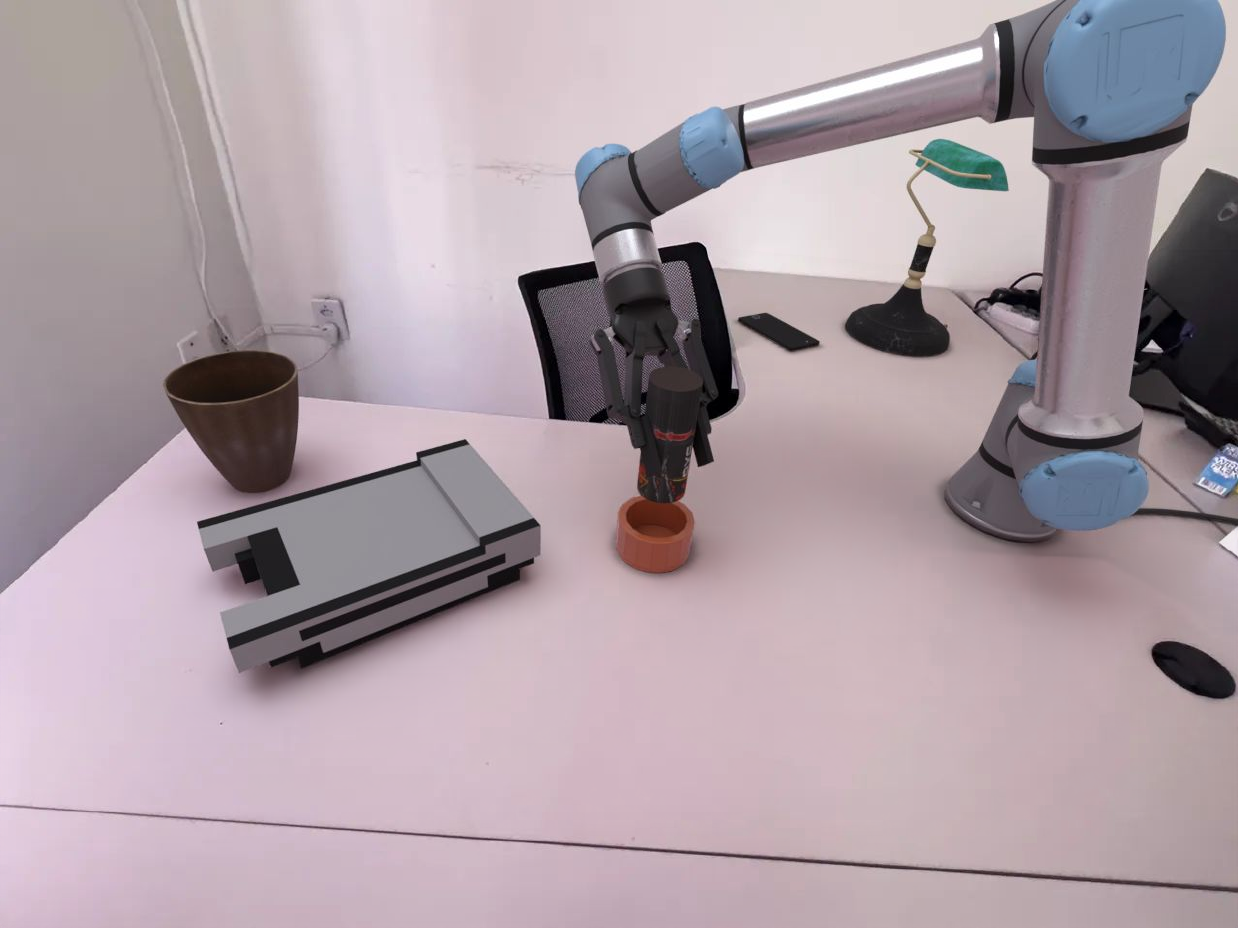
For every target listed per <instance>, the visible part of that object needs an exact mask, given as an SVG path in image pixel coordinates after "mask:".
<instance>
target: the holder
mask: <svg viewBox="0 0 1238 928" xmlns="http://www.w3.org/2000/svg"><path fill="white" fill-rule="evenodd" d="M619 508H620V509H619V510H618V512H617V519H616V531H615V549H616V552H617V554H618V556H619V558H621V560H622V561H623V562H624V563H625V564H627V565H628V566H630V567H632V568H634V569H636V570H637V571H641V572H645V573H650V574H651V573H652V574H653V573H654V574H662V573H668V572H672V571H674V570H677V569H679V568H680V567H682V566H683V565H684V564H685V563H686V561H687V560H688V559H689V555H690V551H691V548H692V542H693V538H694V537H693V536H694V532H695V525H696V520H695V518H694V514H693V511H691V509H689V507H688V506H687V505H686V504H685V503H683V502H682V501H680V500H678V501H676V502H673V503H656V502H652V501H650V500H648V499H645V498H644V497H643V496H641V495H637V496H632V497H631V498H629V499H628V500H626V501H625V502H623V503H622V504H621V507H619Z"/></svg>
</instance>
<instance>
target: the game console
mask: <svg viewBox="0 0 1238 928" xmlns="http://www.w3.org/2000/svg"><path fill="white" fill-rule="evenodd" d="M415 454H416V460H413V461H410V462H406V463H402V464H398V465H395V466H391V467H388V468H384V469H381V470H378V471H374V472H370V473H365V474H363V475H359V476H355V477H352V478H349V479H344V480H340V481H338V482H333V483H330V484H327V485H324V486H323V485H322V486H319V487H316V488H312V489H309V490H305V491H301V492H298V493H294V494H291V495H288V496H284V497H281V498H277V499H273V500H269V501H266V502H263V503H260V504H255V505H252V506H248V507H244V508H241V509H237V510H233V511H230V512H227V513H223V514H219V515H216V516H213V517H212V516H211V517H209V518H205V519H201V520H199V521H196V524H197V528H198V533H199V536H200V540H201V545H202V548H203V551H204V553H205V556H206V559H207V561H208V564H209V566H210V568H211V572H216V571H219V570H223V569H226V568H229V567H232V566H235V565H237V566H238V569H239V572H240V574H241V577H242V579H243V583H244V585H248V584H251V583H254V582H257V581H260V580H261V581H262V584H263V588H264V591H265V594H266V596H263V597H261V598H257V599H255V600H252V601H249V602H247V603H243V604H240V605H237V606H235V607H234V606H233V607H231V608H229V609H226V610H223V611H220V612H219V614H220V617H221V618H220V619H221V623H222V626H223V630H224V634H225V637H226V641H227V646H228V649H229V652H230V654H231V658H232V659H233V662H234V664H235V667H236V669H237V672H238V674H242V673H243V672H246V671H247V670H248V671H249V670H251V669H253V668H255V667H259V666H261V665H264V664H266V663H268V664H269V666H270V669H271V668H274V667H276V666H279V665H281V664H284V663H287V662H289V661H291V660H295V659H296V658H297V660H298V663H299V665H300V668H301V669H304V668H307V667H309V666H312V665H314V664H316V663H319V662H321V661H323V660H326V659H329V658H331V657H334V656H337V655H339V654H341V653H344V652H347V651H348V650H351V649H353V648H356V647H358V646H361V645H363V644H366V643H368V642H370V641H372V640H373V641H374V640H375V639H378V638H380V637H382V636H385V635H388V634H390V633H393V632H395V631H398V630H400V629H403V628H405V627H407V626H410V625H412V624H415V623H417V622H420V621H422V620H425V619H427V618H430V617H432V616H435V615H437V614H439V613H441V612H444V611H446V610H450V609H452V608H454V607H456V606H459V605H463V604H465V603H466V602H469V601H471V600H475V599H476V598H479V597H481V596H483V595H487V594H489V593H491V592H493V591H497V590H499V589H501V588H503V587H506V586H508V585H510V584H513V583H516V582H518V581H520V580H521V569H524V568H526V567H528V566H530V565H533V564H535V558H536V557H539V556H541V555H542V554H541V551H542V550H541V549H542V548H541V547H542V546H541V543H542V542H541V539H542V538H541V532H542V529H541V528H542V527H541V526H542V525H541V524H540V523H539V522H538V520H537V519H536V518H535V517H534V516H533V515H532V514H531V512H530V511H529V510H528V509H527V508H526V506H524V505H523V503H522V502H521V501H520V500H519V499H518V497H517V496H516V495H515V494H514V493H513V492H512V491H511V489H510V488H509V487H508V486H507V485H506V484H505V482H504V481H503V480H502V479H501V478H500V477H499V476H498V474H496V472H495V471H494V470H493V469H492V468H491V466H490V465H489V464H488V463H487V462H486V461H485V459H484V458H483V457H482V456H481V455H480V454H479V452H478V451H476V449H475V448H474V447H473V446H472V445H471V443H470V442H469V441H468V440H467V439H466V438H464V439H460V440H456V441H453V442H449V443H445V444H441V445H438V446H435V447H431V448H428V449H424V450H420V451H416V452H415Z"/></svg>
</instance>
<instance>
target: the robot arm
mask: <svg viewBox="0 0 1238 928" xmlns="http://www.w3.org/2000/svg"><path fill="white" fill-rule="evenodd" d="M1226 39H1227V25H1226V17H1225V13H1224V11H1223V8H1222V6H1221V3H1220V2H1219V0H1054V1H1051V2H1049V3H1046V4H1045V5H1042V6H1039V7H1037V8H1035V9H1031V10H1030V11H1027V12H1025V13H1022V14H1019V15H1017V16H1012V17H1010V18H1007V19H1004V20H1000V21H996V22H992V23H990V24H989V25H987V27H986V28H985V30H984V31H983V32H982V34H980V36H979V37H977V38H975V39H972V40H967V41H965V42H961V43H960V42H959V43H957V44H954V45H950V46H946V47H943V48H939V49H936V50H932V51H928V52H925V53H921V54H917V55H914V56H911V57H908V58H903V59H900V60H896V61H892V62H888V63H885V64H882V65H877V66H875V67H870V68H867V69H863V70H860V71H855V72H853V73H849V74H846V75H842V76H838V77H833V78H830V79H827V80H824V81H820V82H816V83H813V84H809V85H805V86H802V87H798V88H795V89H791V90H788V91H783V92H780V93H776V94H773V95H769V96H766V97H763V98H759V99H755V100H751V101H748V102H745V103H743V104H742V103H741V104H737V105H734V106H729V107H726V108H721V107H719V106H710V107H708V108H707V109H705V110H703V111H701V112H700V113H699V112H698V113H695V114H693V115H692V116H689V117H688V118H686V119H685V120H684V121H683V122H681V123H680V124H678V125H676V126H675V127H673V128H671V129H670V130H668V131H666V132H664V133H663V134H662V135H659V137H657V138H655V139H654V140H652V141H651V142H649V143H647V144H646V145H644V146H642V147H641V148H639V149H638V150H634V151H633V152H632V151H631V150H630V148H629V147H627V146H626V145H623V144H620V143H605V144H604V145H603V146H601V147H598V146H594V147H593V148H591V149H589V150H587V151H586V152H585V153H584V154H583V155H581V157H580V158H579V160H578V161H577V163H576V165H575V169H574V179H575V184H576V190H577V194H578V195H577V198H578V204H579V206H580V209H581V211H582V216H583V219H584V222H585V226H586V229H587V233H588V237H589V240H590V246H591V250H592V255H593V259H594V263H595V267H596V271H597V275H598V279H599V282H600V284H601V286H602V287H603V288H602V296H603V300H604V303H605V307H606V311H607V315H608V317H609V326H608V328H605V329H602V328H598V329H597V330H596V331H595V332H594V333H593V334H592V336H591V337H590V338H589V340H588V343H589V345H590V348H591V349H592V350H593V353H594V355H595V356H596V359H597V365H598V370H599V377H600V382H601V386H602V387H601V388H602V392H603V398H604V403H605V409H606V414H607V418H609V420H620V421H621V422H622V423H623V424H625V425H626V427H627V431H628V436H629V439H630V443H631V447H632V448H633V449H634V450H637V449H639V451H640V454H641V455H642V459H643V463H644V467H645V471H646V475H647V478H648V477H652V476H655V475H657V474H659V473H662V468H661V464H660V460H659V456H658V452H657V448H656V444H655V440H654V436H653V432H652V428H651V424H650V420H649V416H645V415H642V416H641V413H642V395H643V393H642V392H643V369H644V359H645V357H647V356H651V357H656V358H657V359H658V361H659V363H661V364H663V367H668V366H674V367H681V368H686V369H689V370H692V371H694V372H696V373H697V374H699V375H700V376H701V378H702V379H703V386H702V392H701V398H700V404H699V411H698V417H697V423H696V429H695V435H694V441H693V447H692V451H693V453H694V458H695V461H696V465H697V468H701V467H705V466H707V465H709V464H711V463H714V462H715V458H714V455H713V452H712V448H711V444H710V440H709V436H708V435H710V434H712V424H711V421H710V417H709V413H708V409H707V406H708V404H709V403H711V402H712V401H714V400H715V399H716V398H719V390H718V387H717V385H716V381H715V379H714V375H713V371H712V369H711V366H710V363H709V360H708V357H707V353H706V350H705V347H704V345H703V341H702V337H701V322H700V320H699V319H697V318H693V319H691V321H687V320H682V319H679V318H678V316H677V314H675V312H674V311H673V308H672V304H671V303H672V302H671V295H670V291H669V287H668V284H667V280H666V275H665V273H664V272H663V271H662V268H663V264H662V260H661V257H660V252H659V250H658V246H657V242H656V238H655V233H654V230H653V226H652V220H655V219H656V218H658V217H661V216H663V215H664V214H666V213H667V212H669V211H671V210H673V209H675V208H677V207H679V206H681V205H683V204H686V203H687V202H689V201H692V200H693V199H695V198H698V197H699V196H701V195H703V194H705V193H707V192H709V191H711V190H713V189H714V190H716V189H719V188H720V187H721V186H722V185H723V184H725V183H727V181H730V180H731V179H733V178H734V177H736V176H737V175H739V174H740V173H743V172H747V171H750V170H754V169H759V168H763V167H767V166H771V165H775V164H779V163H784V162H788V161H793V160H797V159H801V158H806V157H809V156H813V155H814V156H815V155H818V154H823V153H827V152H831V151H836V150H840V149H845V148H849V147H854V146H857V145H862V144H867V143H871V142H874V141H879V140H883V139H888V138H893V137H896V136H902V135H905V134H909V133H913V132H919V131H924V130H926V129H931V128H935V127H940V126H945V125H948V124H953V123H957V122H963V121H966V120H971V119H975V118H980V119H981V120H983V121H984V122H986V123H987V124H989V125H992V124H996V123H1000V122H1005V121H1009V120H1015V119H1024V118H1033V131H1032V152H1031V155H1032V156H1031V165H1032V166H1033V167H1034V168H1036V169H1037V170H1038V171H1039V172H1041V173H1043V175H1045V176H1046V177H1047V180H1048V189H1047V203H1046V218H1045V219H1046V220H1045V233H1044V234H1045V235H1044V248H1043V249H1044V250H1043V263H1042V276H1041V277H1042V278H1041V293H1040V307H1039V308H1040V309H1039V324H1038V338H1037V355H1036V359H1028V360H1025V361H1022V362H1021V363H1020V364H1018V366H1017V367H1016V368H1015V370H1014V372H1013V374H1012V375H1011V378H1009V379H1008V380H1007V383H1008V384H1007V385H1006V387H1005V390H1004V392H1003V395H1002V396H1001V399H1000V401H999V403H998V405H997V408H996V410H995V412H994V414H993V417H992V419H991V421H990V423H989V425H988V427H987V430H986V431H985V434H984V436H983V439H982V441H981V443H980V445H979V447H978V449H977V451H976V452H975V453H974V454H973V455H972V456H971V457H970V458H969V459H968V460H967V461H966V462H965V463H964V464H963V465H962V466H961V467H960V468H958V470H957V471H956V472H955V473H954V474H953V475H952V476H951V478H950V479H949V481H948V483H947V485H946V487H945V491H944V498H945V500H946V502H947V504H948V506H949V507H950V509H951V510H952V511H953V512H954V513H955V514H956V515H957V516H958V517H959V518H961V519H962V520H963V521H965V522H966V523H968V524H969V525H971V526H972V527H974V528H976V529H979V530H980V531H982V532H984V533H986V534H989V535H992V536H995V537H997V538H1000V539H1004V540H1008V541H1013V542H1019V543H1037V542H1043V541H1046V540H1049V539H1051V537H1053V536H1054V535H1055V533H1056V531H1057V530H1061V531H1062V530H1063V531H1070V532H1088V531H1089V532H1090V531H1096V530H1100V529H1101V530H1102V529H1105V528H1108V527H1111V526H1114V525H1116V524H1117V523H1118V522H1119V521H1121V520H1126V519H1128V518H1130V517H1131V516H1133V515H1134V514H1161V515H1162V514H1163V515H1175V516H1185V517H1194V518H1202V519H1208V520H1215V521H1219V522H1226V523H1231V524H1236V525H1237V524H1238V518H1234V517H1230V516H1223V515H1219V514H1211V513H1205V512H1197V511H1189V510H1181V509H1180V510H1179V509H1171V508H1170V509H1169V508H1149V507H1146V508H1145V507H1144V508H1142V506H1143V505H1144V503H1145V502H1146V499H1147V497H1148V494H1149V491H1150V483H1149V479H1148V471H1147V469H1146V467H1145V466H1144V465H1143V464H1142V463H1141V462H1140V461H1139V449H1140V444H1141V437H1142V431H1143V422H1144V416H1145V413H1144V412H1145V411H1144V408H1143V407H1142V406H1141V404H1139V403H1138V402H1137V401H1136V400H1135V399H1134V398H1132V397H1131V396H1130V389H1131V383H1132V382H1131V381H1132V375H1133V368H1134V362H1135V354H1136V349H1137V341H1138V334H1139V327H1140V326H1139V325H1140V319H1141V312H1142V305H1143V298H1144V292H1145V285H1146V278H1147V270H1148V264H1149V263H1148V262H1149V257H1150V249H1151V241H1152V235H1153V229H1154V221H1155V214H1156V206H1157V199H1158V193H1159V185H1160V179H1161V173H1162V165H1163V163H1164V162H1165V160H1167V159H1168V158H1169V157H1170V156H1172V154H1173V153H1175V152H1176V151H1177V150H1178V149H1179V148H1180V147H1182V145H1184V144H1185V143H1186V142H1187V140H1188V136H1189V129H1190V123H1191V122H1190V121H1191V117H1192V111H1193V105H1194V103H1195V102H1196V101H1197V100H1198V99H1199V97H1201V96H1202V95H1203V94H1204V92H1205V91H1206V90H1207V88H1208V87H1209V85H1210V84H1211V82H1212V80H1213V78H1214V77H1215V75H1216V73H1217V71H1218V68H1219V67H1220V64H1221V61H1222V58H1223V55H1224V52H1225V46H1226V42H1227V41H1226ZM676 332H677V334H678V339H679V340H680V341H682V347H683V348H682V349H683V351H684V355H685V357H686V360H687V363H686V361H685V359H684V358H683V356H682V354H681V348H680V346H679V344H678V343H677V340H676V339H675V334H676ZM615 341H616V343H618V344H619V345H620V346H621V348H623V349H624V361H623V362H624V363H623V364H624V366H625V368H624V369H625V370H624V389H623V390H624V391H622V386H621V380H620V375H619V371H618V365H617V359H616V354H615V350H614V347H613V346H614V344H615ZM623 392H624V393H623Z"/></svg>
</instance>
